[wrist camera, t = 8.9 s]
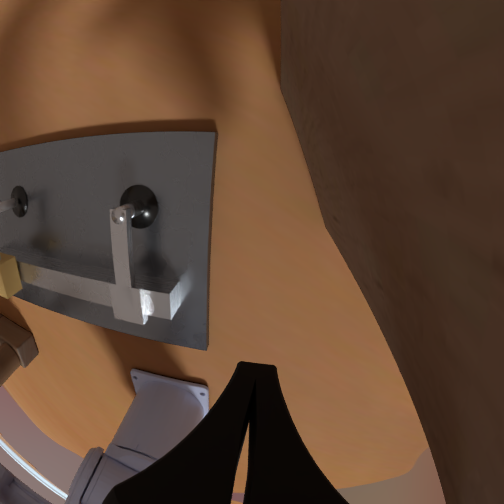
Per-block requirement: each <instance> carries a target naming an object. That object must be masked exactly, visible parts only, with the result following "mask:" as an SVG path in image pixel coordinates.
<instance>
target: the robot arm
mask: <svg viewBox="0 0 504 504" xmlns="http://www.w3.org/2000/svg"><path fill="white" fill-rule="evenodd" d="M130 374H131V377H132V381H133V385H134V388H135V392H136V396H135V398H134V400H133V402H132V404H131V406H130V407H129V409H128V411H127V413H126V415H125V417H124V419H123V421H122V423H121V424H120V426H119V428H118V430H117V432H116V434H115V436H114V438H113V440H112V442H111V443H110V444H109V446H108V448H107V450H106V452H105V453H103V451H104V449H103V448H101V447H97V448H91V449H90V450H89V451H88V453H87V455H86V456H85V458H84V460H83V462H82V463H81V465H80V467H79V469H78V471H77V473H76V475H75V477H74V479H73V481H72V484H71V486H70V489H69V495H68V497H67V499H66V502H65V504H231V499H232V493H233V487H234V481H235V475H236V470H237V466H238V462H239V458H240V454H241V451H242V447H243V443H244V439H245V435H246V431H247V428H248V424H249V448H248V472H247V481H246V487H245V494H244V501H243V504H349V503H348V502H347V501H346V500H345V499H344V498H343V497H342V496H341V495H340V493H339V492H338V491H337V490H336V489H335V488H334V487H333V485H332V484H331V483H330V482H329V480H328V479H327V478H326V476H325V475H324V474H323V472H322V471H321V470H320V468H319V467H318V466H317V464H316V463H315V461H314V460H313V458H312V456H311V455H310V453H309V452H308V450H307V448H306V446H305V445H304V443H303V441H302V439H301V437H300V435H299V433H298V431H297V429H296V427H295V425H294V423H293V421H292V418H291V416H290V413H289V411H288V408H287V405H286V403H285V400H284V397H283V394H282V391H281V387H280V383H279V379H278V374H277V368H276V367H275V366H274V365H268V364H259V363H251V362H243V361H241V362H239V363H238V364H237V367H236V369H235V372H234V374H233V376H232V378H231V379H230V381H229V383H228V385H227V386H226V388H225V389H224V391H223V392H222V394H221V395H220V397H219V398H218V400H217V401H216V403H215V404H214V405H213V407H212V408H211V409H210V410H209V389H208V387H207V386H205V385H201V384H195V383H191V382H186V381H181V380H177V379H172V378H168V377H164V376H160V375H156V374H152V373H148V372H144V371H141V370H137V369H132V370H131V372H130ZM0 504H52V503H50V502H49V501H47V500H46V499H44V498H43V497H41V496H40V495H39V494H37V493H36V492H34V491H33V490H32V489H30V488H29V487H28V486H27V485H25V484H24V483H23V482H21V481H20V480H19V479H18V478H16V477H15V476H14V475H13V474H12V473H11V472H10V471H9V470H7V469H6V468H5V467H4V466H3V465H1V463H0Z"/></svg>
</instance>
